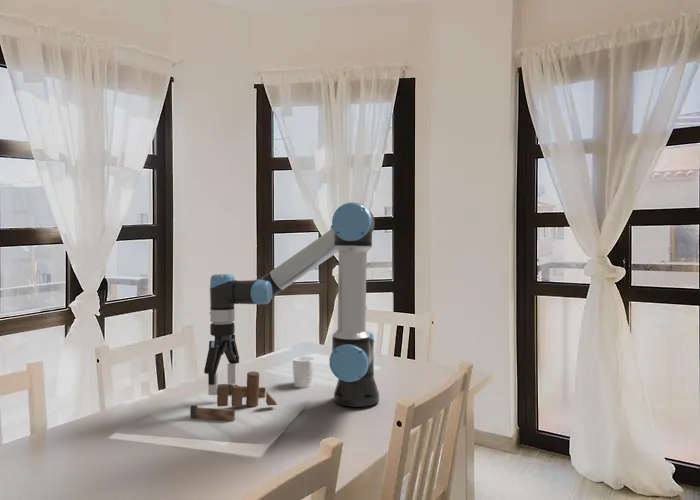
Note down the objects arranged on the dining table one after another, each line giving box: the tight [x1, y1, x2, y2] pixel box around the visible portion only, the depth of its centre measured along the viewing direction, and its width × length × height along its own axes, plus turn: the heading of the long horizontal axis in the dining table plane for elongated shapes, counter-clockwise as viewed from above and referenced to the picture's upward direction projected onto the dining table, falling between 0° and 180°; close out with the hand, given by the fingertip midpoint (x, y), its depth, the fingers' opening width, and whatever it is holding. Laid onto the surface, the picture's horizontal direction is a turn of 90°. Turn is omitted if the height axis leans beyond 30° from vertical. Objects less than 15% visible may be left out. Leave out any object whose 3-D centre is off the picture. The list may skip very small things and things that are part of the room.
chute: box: [189, 383, 267, 422], centre depth 165 cm, size 14×26×4 cm, turn 168°
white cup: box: [292, 356, 315, 389], centre depth 189 cm, size 8×8×10 cm
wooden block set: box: [216, 370, 278, 408], centre depth 163 cm, size 18×9×10 cm, turn 107°
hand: (222, 389), depth 165 cm, fingers open, 13 cm apart
